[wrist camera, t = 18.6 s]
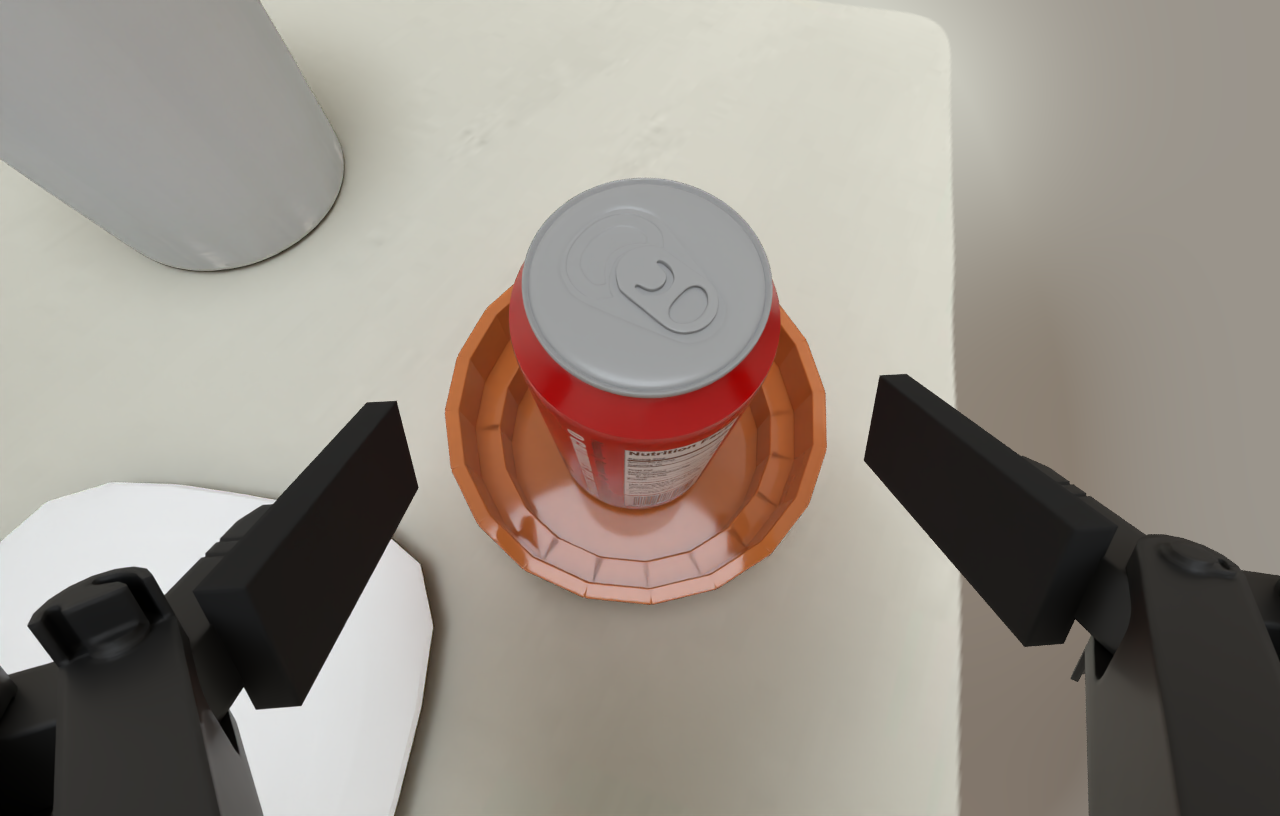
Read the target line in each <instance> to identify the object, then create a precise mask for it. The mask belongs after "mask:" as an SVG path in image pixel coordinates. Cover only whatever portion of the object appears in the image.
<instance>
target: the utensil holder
mask: <svg viewBox="0 0 1280 816" xmlns="http://www.w3.org/2000/svg"><path fill="white" fill-rule="evenodd" d="M0 159H1V160H2V161H4V162H5V163H7V164H8V165H9V166H11V167H12V168H14V169H15V170H17V171H18V172H20V173H21V174H22V175H24V176H25V177H27V178H28V179H30V180H31V181H33V182H34V183H35V184H37V185H38V186H40V187H41V188H43V189H44V190H46V191H47V192H49V193H50V194H52V195H53V196H55V197H56V198H58V199H59V200H61V201H62V202H64V203H65V204H67V205H68V206H70V207H71V208H73V209H74V210H76V211H77V212H79V213H80V214H82V215H83V216H85V217H86V218H88V219H89V220H91V221H92V222H94V223H95V224H97V225H98V226H100V227H101V228H103V229H104V230H106V231H107V232H109V233H110V234H112V235H113V236H115V237H116V238H118V239H119V240H121V241H122V242H124V243H125V244H127V245H128V246H130V247H131V248H133V249H134V250H136V251H138V252H139V253H141V254H143V255H145V256H146V257H148V258H150V259H152V260H154V261H156V262H159V263H162V264H164V265H168V266H171V267H175V268H181V269H187V270H198V271H214V270H223V269H231V268H237V267H241V266H246V265H250V264H253V263H256V262H259V261H262V260H264V259H267V258H269V257H271V256H274V255H276V254H278V253H279V252H281V251H283V250H285V249H287V248H288V247H290V246H292V245H293V244H295V243H296V242H298V241H299V240H300V239H302V238H303V237H304V236H306V235H307V234H308V233H309V232H310V231H311V230H312V229H314V228H315V227H316V226H317V225H318V224H319V222H320V221H321V220H322V219H323V218H324V217H325V215H326V214H327V213H328V211H329V210H330V208H331V207H332V205H333V203H334V202H335V200H336V198H337V195H338V193H339V190H340V187H341V184H342V179H343V172H344V159H343V153H342V149H341V145H340V143H339V140H338V138H337V136H336V134H335V132H334V130H333V128H332V126H331V124H330V123H329V121H328V119H327V117H326V115H325V114H324V112H323V110H322V109H321V107H320V105H319V103H318V102H317V100H316V98H315V96H314V94H313V93H312V91H311V89H310V87H309V85H308V84H307V82H306V80H305V78H304V76H303V74H302V73H301V71H300V69H299V67H298V65H297V63H296V62H295V60H294V58H293V56H292V55H291V53H290V51H289V50H288V48H287V46H286V44H285V43H284V41H283V39H282V38H281V36H280V34H279V32H278V31H277V29H276V27H275V26H274V24H273V22H272V21H271V19H270V17H269V16H268V14H267V12H266V11H265V9H264V7H263V5H262V4H261V2H260V0H0Z"/></svg>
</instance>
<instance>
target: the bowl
mask: <svg viewBox="0 0 1280 816" xmlns="http://www.w3.org/2000/svg"><path fill="white" fill-rule="evenodd" d="M513 286H514V284H513V285H512V286H511V287H510V288H509V289H508V290H507V291H505V292H504V293H503V294H502V295H501V296H500V297H499V298H498V299H496V300H495V301H494V302H493V303H492V304H491V305H490V306H488V307H487V308H486V310H485V311H484V313H483V315H482V316H481V318H480V320H479V321H478V323H477V325H476V326H475V328H474V329H473V331H472V333H471V334H470V336H469V338H468V339H467V341H466V343H465V344H464V346H463V348H462V349H461V351H460V353H459V354H458V357H457V360H456V364H455V369H454V373H453V377H452V382H451V386H450V390H449V395H448V399H447V403H446V408H445V419H446V429H447V438H448V447H449V456H450V465H451V469H452V473H453V475H454V477H455V479H456V481H457V483H458V485H459V487H460V489H461V491H462V493H463V495H464V498H465V500H466V502H467V504H468V506H469V508H470V510H471V512H472V514H473V516H474V518H475V520H476V522H477V524H479V527H480V528H481V529H482V530H483V531H484V532H485V533H486V534H487V535H489V536H490V537H491V538H492V539H493V540H494V541H495V542H496V543H497V544H498V545H499V546H500V547H501V548H502V549H503V550H504V551H505V552H506V553H507V554H508V555H509V556H510V557H511V558H512V559H513V560H514V561H515V562H516V563H517V564H518V565H519V566H520V567H521V568H522V569H525V571H527V572H529V573H531V574H533V575H535V576H538V577H540V578H542V579H544V580H546V581H548V582H550V583H553V584H555V585H557V586H559V587H561V588H563V589H565V590H568V591H570V592H572V593H574V594H576V595H578V596H580V597H585V598H587V599H597V600H607V601H617V602H627V603H637V604H647V605H650V604H652V605H654V604H658V603H662V602H666V601H670V600H674V599H679V598H683V597H687V596H691V595H695V594H699V593H704V592H708V591H712V590H716V589H718V588H720V587H721V586H723V585H724V584H726V583H727V582H729V581H730V580H732V579H733V578H735V577H737V576H738V575H740V574H741V573H743V572H744V571H746V570H747V569H749V568H750V567H752V566H754V565H755V564H757V563H758V562H760V561H761V560H763V559H764V558H766V557H767V556H769V555H770V554H771V553H772V552H773V551H774V550H775V548H776V547H777V546H778V544H779V543H780V542H781V541H782V539H783V538H784V537H785V535H786V534H787V533H788V531H789V530H790V529H791V528H792V526H793V525H794V524H795V522H796V521H797V520H798V518H799V517H800V516H801V514H802V513H803V512H804V511H805V509H806V508H807V507H808V504H809V503H810V500H811V496H812V493H813V490H814V487H815V484H816V481H817V478H818V475H819V472H820V469H821V465H822V462H823V459H824V456H825V453H826V448H827V440H826V397H825V390H824V387H823V384H822V382H821V379H820V376H819V373H818V370H817V368H816V365H815V362H814V359H813V357H812V354H811V351H810V348H809V345H808V343H807V341H806V339H805V337H804V336H803V335H802V334H801V332H800V331H799V330H798V328H797V327H796V326H795V324H794V323H793V322H792V320H791V319H790V318H789V316H788V315H787V314H786V312H785V311H784V310H783V308H782V307H781V306H780V305H779V306H780V317H781V325H780V336H779V342H778V347H777V351H776V355H775V358H774V361H773V364H772V366H771V369H770V371H769V373H768V375H767V377H766V379H765V381H764V382H763V384H762V386H761V387H760V389H759V391H758V392H757V394H756V395H755V397H754V398H753V400H752V401H751V403H750V404H749V406H748V407H747V409H746V410H745V412H744V413H743V415H742V416H741V418H740V419H739V421H738V422H737V424H736V425H735V427H734V428H733V430H732V431H731V432H730V434H729V435H728V437H727V438H726V440H725V441H724V443H723V444H722V446H721V447H720V449H719V450H718V452H717V453H716V455H715V456H714V458H713V459H712V461H711V462H710V464H709V465H708V467H707V468H706V470H705V471H704V473H703V474H702V476H701V477H700V478H699V479H698V481H697V482H696V483H695V484H694V485H693V486H692V487H691V488H690V489H689V490H688V491H687V492H685V493H684V494H683V495H681V496H680V497H678V498H676V499H674V500H672V501H670V502H668V503H666V504H663V505H660V506H656V507H652V508H646V509H627V508H621V507H617V506H613V505H610V504H608V503H605V502H603V501H601V500H599V499H597V498H595V497H594V496H592V495H591V494H589V493H588V492H587V491H586V490H584V489H583V488H582V487H581V486H580V485H579V484H578V483H577V482H576V480H575V479H574V478H573V477H572V475H571V474H570V472H569V470H568V469H567V467H566V465H565V463H564V461H563V459H562V457H561V455H560V453H559V451H558V449H557V446H556V444H555V442H554V440H553V438H552V436H551V434H550V432H549V430H548V427H547V425H546V423H545V421H544V419H543V417H542V415H541V413H540V411H539V408H538V406H537V404H536V402H535V400H534V398H533V396H532V394H531V392H530V389H529V387H528V385H527V383H526V381H525V379H524V377H523V375H522V372H521V370H520V368H519V365H518V363H517V360H516V357H515V354H514V351H513V347H512V343H511V338H510V329H509V306H510V299H511V293H512V290H513Z"/></svg>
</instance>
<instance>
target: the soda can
mask: <svg viewBox="0 0 1280 816" xmlns="http://www.w3.org/2000/svg"><path fill="white" fill-rule="evenodd" d="M780 325H781V317H780V306H779V300H778V296H777V292H776V289H775V286H774V283H773V280H772V275H771V269H770V265H769V262H768V258H767V256H766V253H765V251H764V248H763V246H762V244H761V242H760V241H759V239H758V237H757V236H756V234H755V233H754V231H753V230H752V228H751V227H750V226H749V225H748V223H747V222H746V221H745V220H744V219H743V218H742V217H741V216H740V215H739V214H738V213H737V212H736V211H735V210H733V209H732V208H731V207H730V206H728V205H727V204H726V203H724V202H723V201H721V200H720V199H718V198H717V197H715V196H713V195H711V194H709V193H707V192H705V191H703V190H701V189H699V188H696V187H693V186H690V185H687V184H684V183H680V182H676V181H672V180H666V179H657V178H631V179H623V180H617V181H613V182H609V183H605V184H602V185H599V186H596V187H593V188H591V189H588V190H586V191H584V192H582V193H580V194H578V195H577V196H575V197H573V198H572V199H570V200H569V201H567V202H566V203H564V204H563V205H562V206H560V207H559V208H558V209H557V210H556V211H555V212H554V213H553V214H552V215H551V216H550V217H549V218H548V219H547V220H546V221H545V222H544V224H543V225H542V226H541V228H540V229H539V230H538V232H537V233H536V235H535V237H534V239H533V241H532V243H531V245H530V247H529V249H528V252H527V255H526V258H525V261H524V263H523V265H522V266H521V268H520V270H519V273H518V275H517V277H516V280H515V283H514V286H513V290H512V293H511V299H510V306H509V329H510V338H511V343H512V347H513V351H514V354H515V357H516V360H517V363H518V365H519V368H520V370H521V372H522V375H523V377H524V379H525V381H526V383H527V385H528V387H529V389H530V392H531V394H532V396H533V398H534V400H535V402H536V404H537V406H538V408H539V411H540V413H541V415H542V417H543V419H544V421H545V423H546V425H547V427H548V430H549V432H550V434H551V436H552V438H553V440H554V442H555V444H556V446H557V449H558V451H559V453H560V455H561V457H562V459H563V461H564V463H565V465H566V467H567V469H568V470H569V472H570V474H571V475H572V477H573V478H574V479H575V480H576V482H577V483H578V484H579V485H580V486H581V487H582V488H583V489H584V490H586V491H587V492H588V493H589V494H591V495H592V496H594V497H595V498H597V499H599V500H601V501H603V502H605V503H608V504H610V505H613V506H617V507H621V508H627V509H646V508H652V507H656V506H660V505H663V504H666V503H668V502H670V501H672V500H674V499H676V498H678V497H680V496H681V495H683V494H684V493H685V492H687V491H688V490H689V489H690V488H691V487H692V486H693V485H694V484H695V483H696V482H697V481H698V479H699V478H700V477H701V476H702V474H703V473H704V471H705V470H706V468H707V467H708V465H709V464H710V462H711V461H712V459H713V458H714V456H715V455H716V453H717V452H718V450H719V449H720V447H721V446H722V444H723V443H724V441H725V440H726V438H727V437H728V435H729V434H730V432H731V431H732V430H733V428H734V427H735V425H736V424H737V422H738V421H739V419H740V418H741V416H742V415H743V413H744V412H745V410H746V409H747V407H748V406H749V404H750V403H751V401H752V400H753V398H754V397H755V395H756V394H757V392H758V391H759V389H760V387H761V386H762V384H763V382H764V381H765V379H766V377H767V375H768V373H769V371H770V369H771V366H772V364H773V361H774V358H775V355H776V351H777V347H778V342H779V336H780Z"/></svg>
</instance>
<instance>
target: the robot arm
mask: <svg viewBox="0 0 1280 816" xmlns="http://www.w3.org/2000/svg"><path fill="white" fill-rule="evenodd" d="M864 461H865V462H866V464H867V465H868V466H869V467H870V468H871V469H872V470H873V472H874V473H875V474H876V475H877V476H878V477H879V479H880V480H881V481H882V482H883V483H884V484H885V486H886V487H887V488H888V489H889V490H890V491H891V493H892V494H893V495H894V496H895V497H896V498H897V499H898V501H899V502H900V503H901V504H902V505H903V506H904V508H905V509H906V510H907V511H908V512H909V513H910V515H911V516H912V517H913V518H914V519H915V520H916V522H917V523H918V524H919V525H920V526H921V527H922V528H923V530H924V531H925V532H926V533H927V534H928V535H929V537H930V538H931V539H932V540H933V541H934V542H935V544H936V545H937V546H938V547H939V548H940V549H941V550H942V552H943V553H944V554H945V555H946V556H947V557H948V559H949V560H950V561H951V562H952V563H953V564H954V566H955V567H956V568H957V569H958V570H959V571H960V573H961V574H962V575H963V576H964V577H965V578H966V579H967V581H968V582H969V583H970V584H971V585H972V586H973V588H974V589H975V590H976V591H977V592H978V593H979V595H980V596H981V597H982V598H983V599H984V600H985V601H986V602H987V604H988V605H989V606H990V607H991V608H992V610H993V611H994V612H995V613H996V614H997V615H998V617H999V618H1000V619H1001V620H1002V621H1003V622H1004V624H1005V625H1006V626H1007V627H1008V628H1009V629H1010V630H1011V632H1012V633H1013V634H1014V635H1015V636H1016V637H1017V638H1018V640H1019V641H1020V642H1021V643H1022V644H1023V646H1025V647H1028V646H1041V645H1053V644H1063V643H1064V642H1065V640H1066V637H1067V635H1068V633H1069V631H1070V629H1071V627H1072V625H1073V623H1074V620H1075V619H1076V620H1077V621H1078V622H1079V623H1080V624H1081V625H1082V626H1083V627H1084V628H1085V629H1086V630H1087V631H1088V632H1089V633H1090V634H1091V637H1090V639H1089V641H1088V643H1087V645H1086V647H1085V649H1084V651H1083V653H1082V655H1081V657H1080V659H1079V661H1078V663H1077V665H1076V667H1075V669H1074V671H1073V674H1072V676H1071V679H1072V680H1075V681H1077V682H1078V681H1079V679H1080V677H1081V675H1082V674H1085V684H1086V723H1087V759H1088V761H1087V762H1088V801H1089V816H1280V576H1278V575H1271V574H1264V573H1257V572H1250V571H1243V570H1240V568H1239V567H1238V566H1237V565H1236V564H1235V563H1233V562H1232V561H1230V560H1229V559H1227V558H1226V557H1225V556H1223V555H1222V554H1220V553H1218V552H1216V551H1214V550H1212V549H1210V548H1208V547H1206V546H1204V545H1201V544H1198V543H1195V542H1193V541H1190V540H1187V539H1184V538H1179V537H1174V536H1169V535H1162V534H1160V535H1159V534H1158V535H1157V534H1153V535H1152V534H1149V535H1145V534H1144V533H1142V532H1141V531H1139V530H1138V529H1137V528H1135V527H1134V526H1132V525H1131V524H1129V523H1128V522H1126V521H1125V520H1124V519H1122V518H1121V517H1119V516H1118V515H1117V514H1115V513H1114V512H1112V511H1111V510H1109V509H1108V508H1107V507H1105V506H1103V505H1102V504H1101V503H1099V502H1098V501H1096V500H1095V499H1094V498H1092V497H1090V496H1086V493H1085V492H1084V491H1082V490H1081V489H1079V488H1078V487H1076V486H1075V485H1070V483H1069V481H1068V480H1066V479H1065V478H1063V477H1062V476H1061V475H1059V474H1058V473H1056V472H1055V471H1053V470H1052V469H1051V468H1049V467H1047V466H1045V465H1042V464H1040V463H1038V462H1036V461H1033V460H1031V459H1029V458H1027V457H1024V456H1020V455H1019V454H1017V453H1016V452H1014V451H1013V450H1011V449H1010V448H1009V447H1007V446H1006V445H1005V444H1003V443H1002V442H1000V441H999V440H998V439H996V438H995V437H993V436H992V435H991V434H989V433H988V432H986V431H985V430H984V429H982V428H981V427H979V426H978V425H977V424H975V423H974V422H973V421H971V420H970V419H968V418H967V417H966V416H964V415H963V414H961V413H960V412H959V411H957V410H956V409H954V408H953V407H952V406H950V405H949V404H948V403H946V402H945V401H943V400H942V399H941V398H939V397H938V396H936V395H935V394H934V393H932V392H931V391H929V390H928V389H927V388H925V387H924V386H922V385H921V384H920V383H918V382H917V381H916V380H914V379H913V378H911V377H910V376H909V375H907V374H898V375H880V377H879V382H878V388H877V393H876V398H875V403H874V409H873V414H872V419H871V425H870V430H869V435H868V441H867V446H866V451H865V457H864ZM417 490H418V484H417V480H416V476H415V472H414V468H413V464H412V460H411V456H410V452H409V448H408V444H407V440H406V436H405V433H404V429H403V425H402V421H401V417H400V413H399V409H398V405H397V401H387V402H368V403H366V404H365V405H364V406H363V407H362V408H361V409H360V410H359V412H358V413H357V414H356V415H355V416H354V417H353V418H352V419H351V420H350V421H349V422H348V423H347V425H346V426H345V427H344V428H343V429H342V430H341V431H340V432H339V433H338V434H337V435H336V436H335V437H334V439H333V440H332V441H331V442H330V443H329V444H328V445H327V446H326V447H325V448H324V449H323V450H322V452H321V453H320V454H319V455H318V456H317V457H316V458H315V459H314V460H313V461H312V462H311V463H310V464H309V466H308V467H307V468H306V469H305V470H304V471H303V472H302V473H301V474H300V475H299V476H298V477H297V479H296V480H295V481H294V482H293V483H292V484H291V485H290V486H289V487H288V488H287V489H286V490H285V492H284V493H283V494H282V495H281V496H280V497H279V498H278V499H277V500H276V501H275V502H274V503H273V504H268V505H261V506H260V507H258V508H257V509H255V510H253V511H252V512H250V513H249V514H247V515H246V516H244V517H242V518H241V519H239V520H238V521H236V522H235V524H234V525H233V526H232V527H231V528H230V529H229V530H228V531H227V532H226V533H225V534H224V535H223V536H222V537H221V538H220V542H216V543H215V544H214V545H213V546H212V547H211V548H210V549H209V550H208V551H207V552H206V553H205V557H201V558H200V559H199V560H198V561H197V562H196V563H195V564H194V565H193V566H192V567H191V568H190V569H189V570H188V571H187V572H186V573H185V575H184V576H183V577H182V578H181V579H180V580H179V581H178V582H177V583H176V584H175V585H174V586H173V587H172V588H171V589H170V590H169V591H168V592H167V593H166V594H165V595H164V594H163V592H162V590H161V589H160V587H159V585H158V583H157V581H156V580H155V578H154V576H153V575H152V574H151V572H150V571H149V570H148V569H147V568H141V567H135V566H133V567H125V568H118V569H113V570H110V571H106V572H103V573H100V574H97V575H93V576H91V577H89V578H86V579H84V580H82V581H80V582H78V583H76V584H73V585H71V586H69V587H67V588H66V589H64V590H63V591H61V592H60V593H58V594H56V595H55V596H53V597H52V598H50V599H48V600H47V601H46V602H45V603H44V604H43V605H42V606H41V607H40V608H39V609H38V610H37V611H35V612H34V613H33V615H32V617H31V619H30V621H29V623H28V625H27V627H28V628H29V629H30V631H31V632H32V633H33V635H34V636H35V637H36V639H37V640H38V641H39V643H40V644H41V645H42V647H43V648H44V649H45V651H46V652H47V653H48V655H49V656H50V657H51V659H52V660H53V661H54V662H51V663H47V664H44V665H40V666H37V667H33V668H30V669H26V670H23V671H19V672H16V673H12V674H9V675H8V674H7V673H6V672H5V671H4V670H3V668H2V667H1V666H0V816H264V815H263V812H262V808H261V805H260V801H259V798H258V794H257V791H256V787H255V784H254V781H253V777H252V774H251V770H250V767H249V763H248V760H247V756H246V753H245V750H244V746H243V743H242V739H241V736H240V732H239V729H238V726H237V722H236V720H235V718H234V716H233V715H232V713H231V711H230V707H231V706H232V704H233V703H234V701H235V700H236V698H237V697H238V695H239V694H240V692H241V691H242V689H243V688H244V689H245V691H246V692H247V694H248V696H249V698H250V700H251V702H252V704H253V705H254V707H255V709H256V710H260V709H272V708H285V707H297V706H302V704H303V702H304V700H305V699H306V697H307V695H308V693H309V691H310V689H311V687H312V686H313V684H314V682H315V680H316V678H317V676H318V674H319V672H320V671H321V669H322V667H323V665H324V663H325V661H326V659H327V658H328V656H329V654H330V652H331V650H332V648H333V646H334V644H335V643H336V641H337V639H338V637H339V635H340V633H341V631H342V630H343V628H344V626H345V624H346V622H347V620H348V618H349V617H350V615H351V613H352V611H353V609H354V607H355V605H356V603H357V602H358V600H359V598H360V596H361V594H362V592H363V590H364V589H365V587H366V585H367V583H368V581H369V579H370V577H371V575H372V574H373V572H374V570H375V568H376V566H377V564H378V562H379V561H380V559H381V557H382V555H383V553H384V551H385V549H386V547H387V546H388V544H389V542H390V540H391V538H392V536H393V534H394V533H395V531H396V529H397V527H398V525H399V523H400V521H401V519H402V518H403V516H404V514H405V512H406V510H407V508H408V506H409V505H410V503H411V501H412V499H413V497H414V495H415V493H416V492H417Z"/></svg>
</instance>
